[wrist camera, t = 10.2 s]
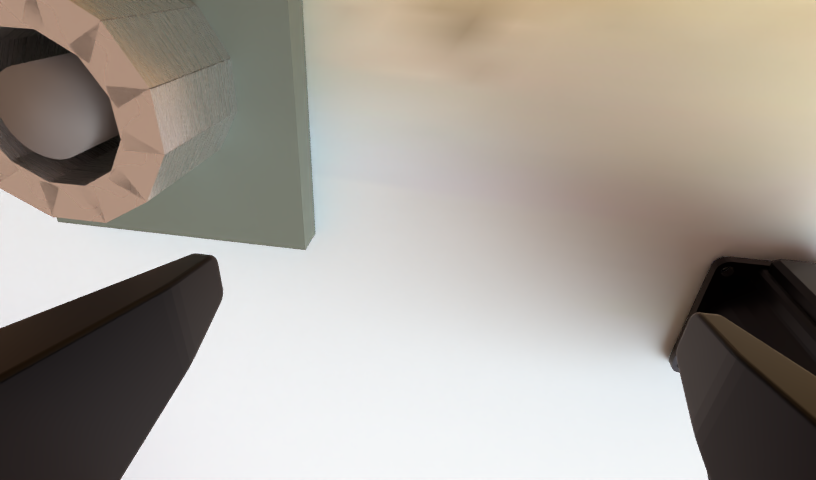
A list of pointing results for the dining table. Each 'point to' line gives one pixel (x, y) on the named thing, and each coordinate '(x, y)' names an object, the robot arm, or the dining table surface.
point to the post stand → (227, 168)
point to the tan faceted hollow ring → (121, 100)
